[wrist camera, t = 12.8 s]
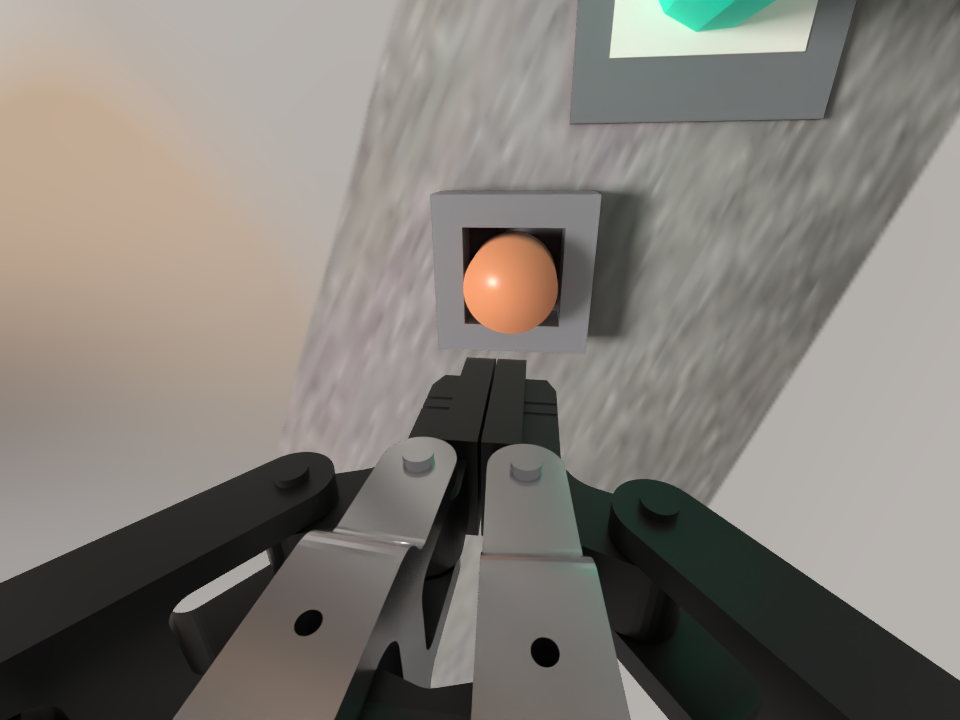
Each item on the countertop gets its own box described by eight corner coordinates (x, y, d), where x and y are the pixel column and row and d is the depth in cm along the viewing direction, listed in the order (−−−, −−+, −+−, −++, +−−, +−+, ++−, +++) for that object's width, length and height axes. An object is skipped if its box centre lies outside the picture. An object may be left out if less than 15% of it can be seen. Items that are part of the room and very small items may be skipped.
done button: (552, 315, 23) (554, 335, 21) (472, 312, 24) (464, 332, 21) (558, 231, 22) (561, 241, 19) (471, 230, 22) (461, 240, 19)
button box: (581, 336, 25) (585, 354, 23) (447, 332, 26) (438, 348, 24) (595, 190, 22) (601, 194, 20) (440, 191, 23) (429, 194, 21)
